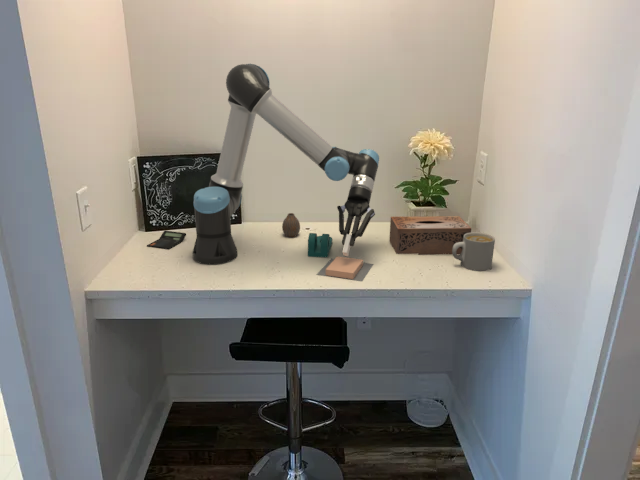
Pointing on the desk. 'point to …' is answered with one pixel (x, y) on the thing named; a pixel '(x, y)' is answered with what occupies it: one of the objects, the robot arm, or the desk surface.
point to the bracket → (319, 245)
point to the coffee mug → (475, 251)
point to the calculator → (168, 240)
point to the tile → (344, 267)
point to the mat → (358, 277)
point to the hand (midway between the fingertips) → (345, 254)
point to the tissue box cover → (427, 234)
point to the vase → (291, 225)
